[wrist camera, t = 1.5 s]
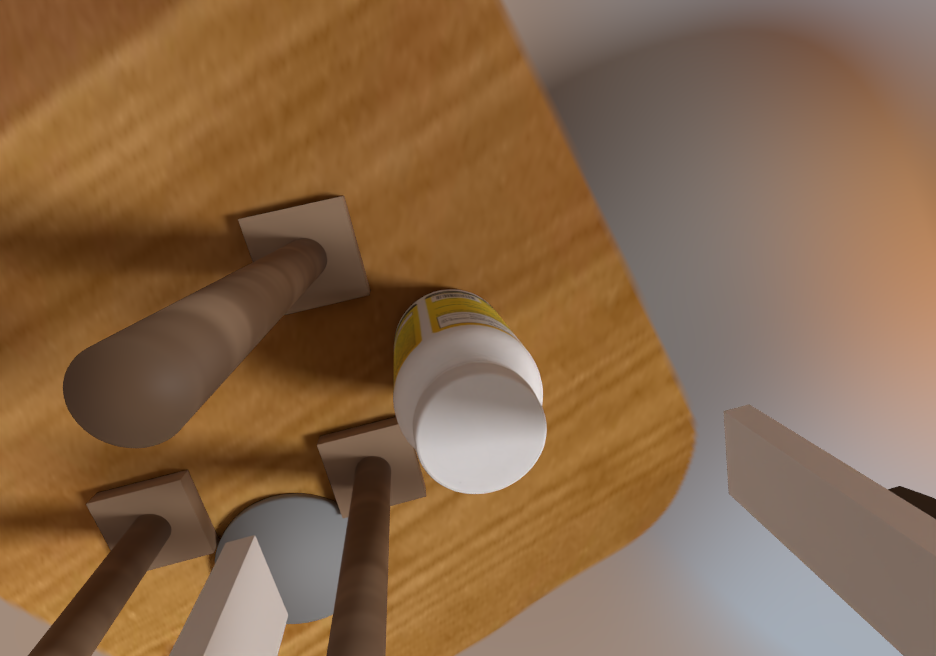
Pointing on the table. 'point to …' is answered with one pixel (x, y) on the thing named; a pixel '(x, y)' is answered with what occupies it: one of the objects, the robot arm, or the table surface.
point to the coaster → (297, 549)
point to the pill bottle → (466, 393)
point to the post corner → (367, 526)
